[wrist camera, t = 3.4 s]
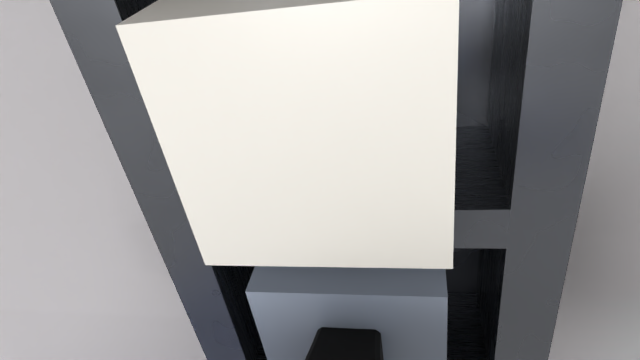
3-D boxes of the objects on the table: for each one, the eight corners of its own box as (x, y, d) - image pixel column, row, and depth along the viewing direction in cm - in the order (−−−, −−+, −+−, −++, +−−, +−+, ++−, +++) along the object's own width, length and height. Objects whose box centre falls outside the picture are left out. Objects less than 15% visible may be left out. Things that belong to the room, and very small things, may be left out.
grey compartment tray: (497, 408, 19) (514, 519, 16) (286, 392, 21) (264, 489, 18) (575, -219, 8) (675, -259, 5) (124, -135, 10) (-8, -128, 7)
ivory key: (442, 165, 10) (452, 268, 7) (252, 171, 11) (205, 264, 8) (444, -56, 8) (459, -11, 5) (201, -26, 8) (114, 25, 6)
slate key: (440, 317, 14) (445, 414, 12) (302, 312, 15) (280, 402, 12) (440, 204, 12) (447, 297, 9) (277, 206, 13) (244, 291, 10)
